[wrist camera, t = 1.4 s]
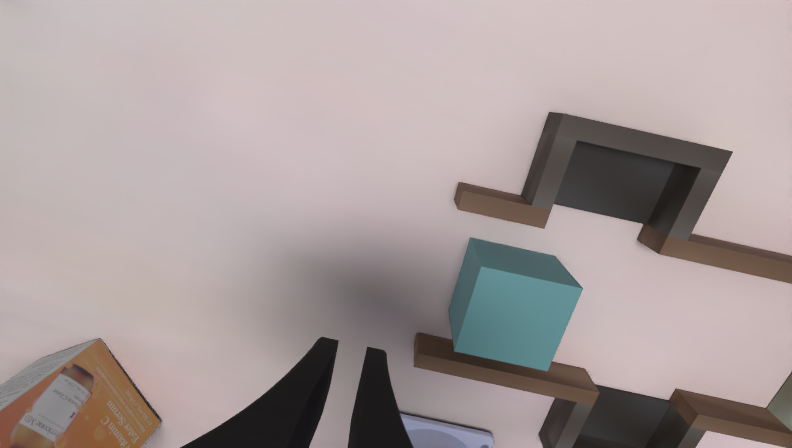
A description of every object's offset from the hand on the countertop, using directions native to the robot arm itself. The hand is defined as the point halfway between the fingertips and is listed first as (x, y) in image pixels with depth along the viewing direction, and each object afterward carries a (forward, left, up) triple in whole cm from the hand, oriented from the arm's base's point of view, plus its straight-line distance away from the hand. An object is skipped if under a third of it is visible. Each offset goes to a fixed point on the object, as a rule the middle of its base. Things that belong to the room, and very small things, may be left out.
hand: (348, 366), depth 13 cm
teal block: (0, -8, -10) cm, 12 cm away
